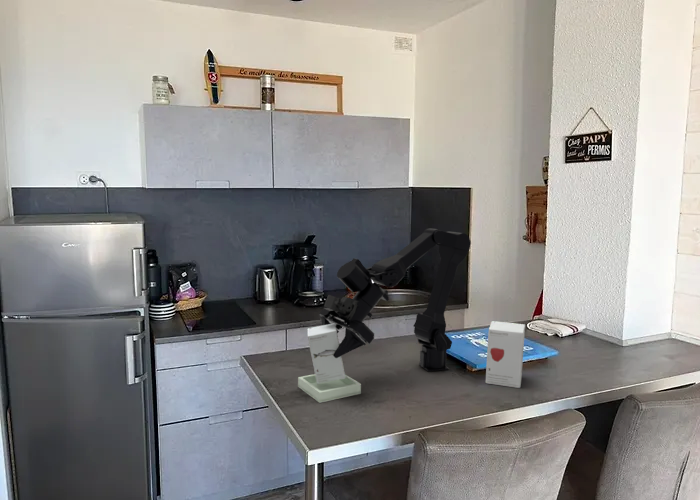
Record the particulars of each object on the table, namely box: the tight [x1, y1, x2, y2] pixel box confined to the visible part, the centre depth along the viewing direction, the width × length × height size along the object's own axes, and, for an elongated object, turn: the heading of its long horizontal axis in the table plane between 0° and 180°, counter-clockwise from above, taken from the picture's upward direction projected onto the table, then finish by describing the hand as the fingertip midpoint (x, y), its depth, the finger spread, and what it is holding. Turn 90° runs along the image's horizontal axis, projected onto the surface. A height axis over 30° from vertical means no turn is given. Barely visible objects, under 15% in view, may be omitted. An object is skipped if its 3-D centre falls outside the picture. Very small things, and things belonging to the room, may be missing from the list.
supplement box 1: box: [306, 323, 346, 384], centre depth 134 cm, size 7×7×13 cm
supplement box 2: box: [485, 320, 526, 389], centre depth 143 cm, size 9×9×15 cm
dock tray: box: [297, 373, 362, 403], centre depth 135 cm, size 12×12×2 cm
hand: (325, 351), depth 134 cm, fingers closed on supplement box 1, 9 cm apart
